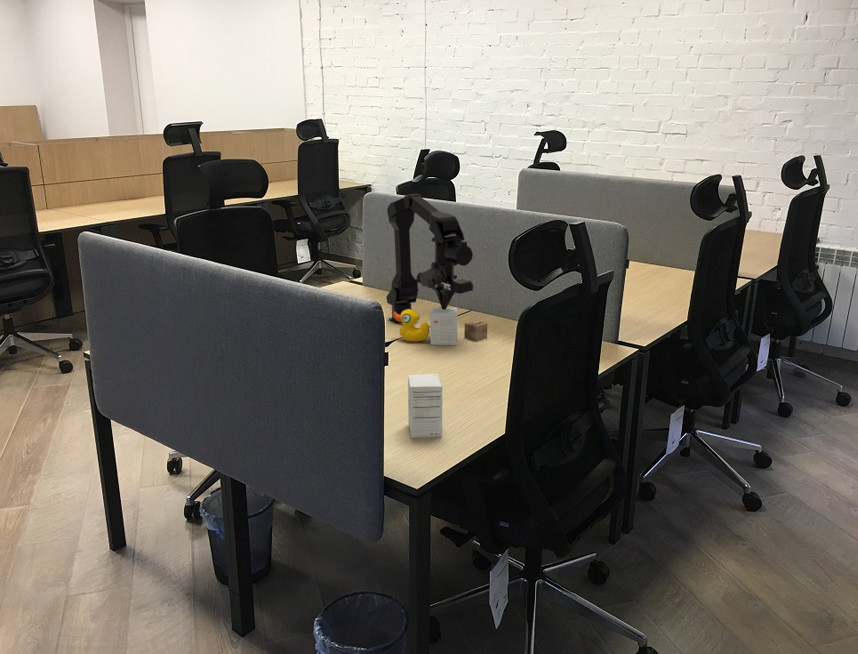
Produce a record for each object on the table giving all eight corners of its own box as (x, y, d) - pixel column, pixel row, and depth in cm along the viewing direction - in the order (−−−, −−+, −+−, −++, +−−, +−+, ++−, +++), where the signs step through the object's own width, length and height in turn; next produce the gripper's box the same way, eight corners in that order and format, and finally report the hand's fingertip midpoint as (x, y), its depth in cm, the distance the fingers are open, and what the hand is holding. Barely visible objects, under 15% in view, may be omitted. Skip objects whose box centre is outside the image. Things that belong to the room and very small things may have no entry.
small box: (457, 339, 232) (458, 307, 228) (456, 345, 226) (456, 312, 223) (431, 338, 232) (431, 306, 229) (430, 345, 227) (430, 311, 224)
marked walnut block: (463, 338, 233) (464, 321, 232) (474, 334, 237) (475, 318, 235) (476, 342, 230) (476, 325, 228) (487, 338, 233) (487, 322, 232)
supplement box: (407, 424, 175) (407, 374, 171) (439, 423, 176) (439, 373, 172) (409, 438, 168) (409, 386, 164) (442, 437, 169) (443, 385, 165)
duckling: (391, 342, 230) (390, 310, 226) (396, 336, 234) (396, 306, 231) (426, 345, 227) (426, 313, 224) (431, 339, 232) (431, 308, 228)
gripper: (403, 257, 222) (403, 307, 227) (447, 268, 209) (447, 321, 214) (430, 252, 230) (430, 300, 235) (474, 262, 217) (473, 313, 222)
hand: (444, 309), depth 226 cm, fingers closed
